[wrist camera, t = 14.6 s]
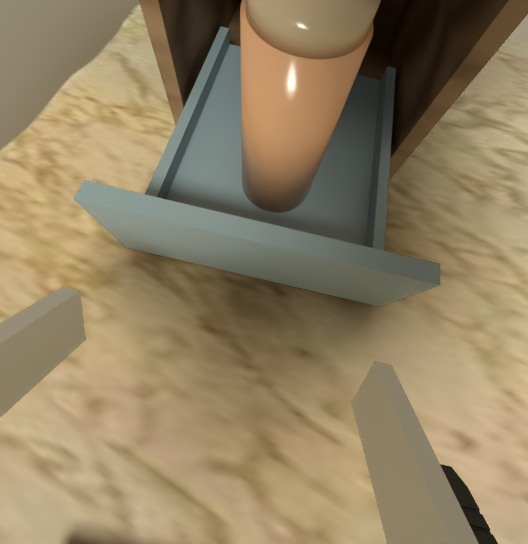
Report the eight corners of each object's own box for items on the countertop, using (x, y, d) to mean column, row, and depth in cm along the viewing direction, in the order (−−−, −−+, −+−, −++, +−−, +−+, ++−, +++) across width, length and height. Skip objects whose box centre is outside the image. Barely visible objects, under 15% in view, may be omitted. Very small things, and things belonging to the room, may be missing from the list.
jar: (322, 183, 19) (414, -12, 9) (278, 225, 18) (326, 51, 8) (273, 144, 20) (306, -77, 10) (227, 181, 19) (207, -32, 8)
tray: (379, 306, 18) (440, 285, 13) (125, 247, 18) (73, 199, 13) (392, 102, 25) (435, 29, 20) (209, 58, 25) (199, -27, 20)
